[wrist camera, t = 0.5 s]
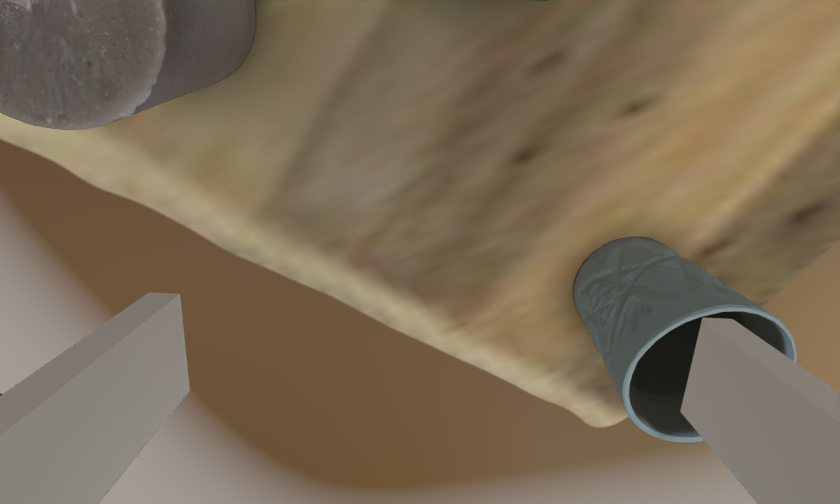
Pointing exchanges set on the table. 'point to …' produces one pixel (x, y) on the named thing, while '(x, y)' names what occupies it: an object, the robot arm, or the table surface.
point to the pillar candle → (114, 55)
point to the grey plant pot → (659, 326)
